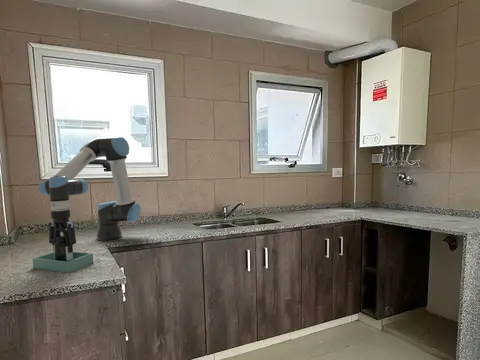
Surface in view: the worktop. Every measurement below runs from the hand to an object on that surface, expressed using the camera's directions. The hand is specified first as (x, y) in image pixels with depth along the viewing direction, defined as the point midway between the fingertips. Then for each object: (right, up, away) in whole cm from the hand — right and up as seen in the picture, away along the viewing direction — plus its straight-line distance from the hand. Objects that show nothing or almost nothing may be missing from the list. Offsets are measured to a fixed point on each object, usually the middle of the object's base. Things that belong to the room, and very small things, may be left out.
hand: (63, 258), depth 138 cm
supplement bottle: (0, -1, 0) cm, 1 cm away
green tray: (0, -3, 0) cm, 3 cm away
